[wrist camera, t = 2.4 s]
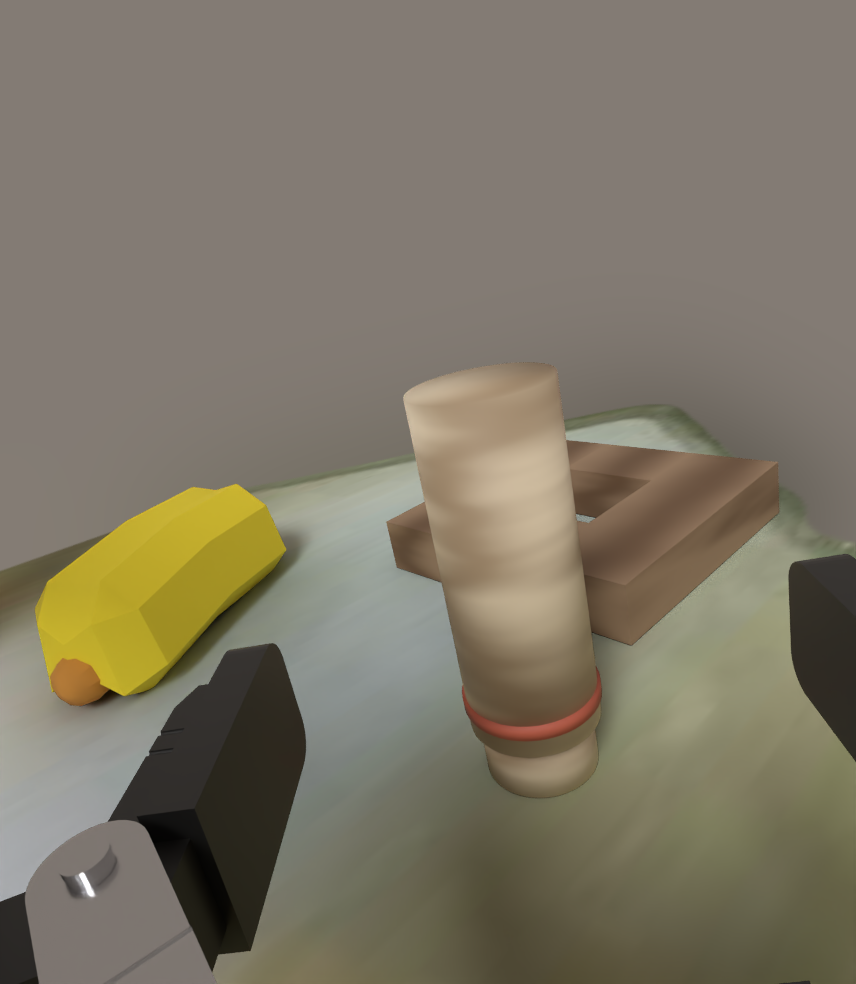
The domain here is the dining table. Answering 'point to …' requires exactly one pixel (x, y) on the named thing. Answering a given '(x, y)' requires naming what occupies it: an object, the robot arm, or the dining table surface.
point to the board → (639, 527)
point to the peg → (511, 569)
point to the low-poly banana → (152, 591)
